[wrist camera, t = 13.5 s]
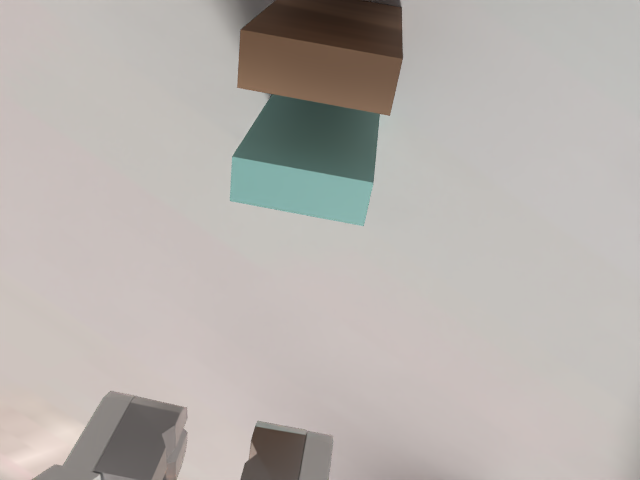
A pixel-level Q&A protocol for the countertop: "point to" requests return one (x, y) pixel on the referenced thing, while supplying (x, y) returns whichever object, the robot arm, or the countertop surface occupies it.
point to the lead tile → (308, 160)
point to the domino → (324, 52)
